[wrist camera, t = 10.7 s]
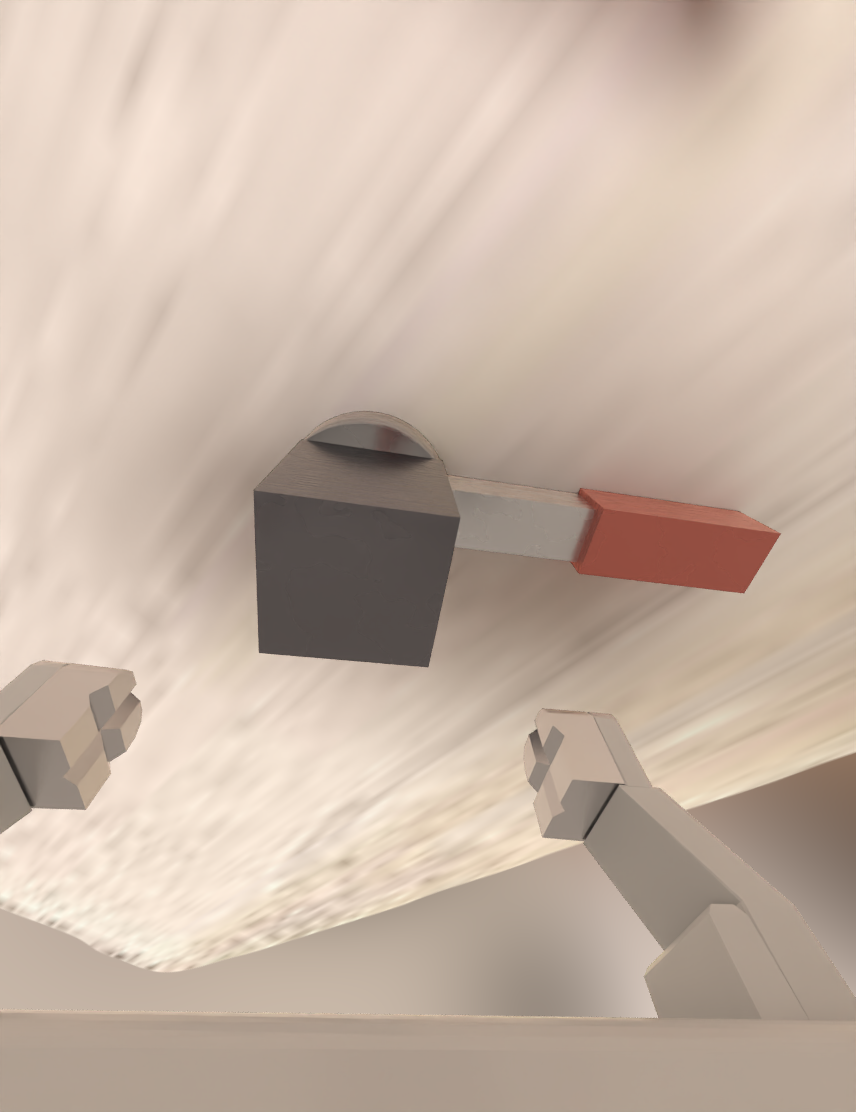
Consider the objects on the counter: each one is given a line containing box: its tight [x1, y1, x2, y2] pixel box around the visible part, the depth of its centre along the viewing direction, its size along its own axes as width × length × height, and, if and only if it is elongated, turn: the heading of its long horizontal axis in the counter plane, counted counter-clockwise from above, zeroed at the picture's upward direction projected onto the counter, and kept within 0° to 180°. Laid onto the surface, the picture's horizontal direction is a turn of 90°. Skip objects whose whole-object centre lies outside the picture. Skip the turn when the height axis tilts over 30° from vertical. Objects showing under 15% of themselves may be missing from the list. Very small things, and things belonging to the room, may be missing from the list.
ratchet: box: [305, 411, 781, 593], centre depth 18 cm, size 23×8×8 cm, turn 81°
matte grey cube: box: [254, 439, 461, 667], centre depth 15 cm, size 6×6×6 cm
